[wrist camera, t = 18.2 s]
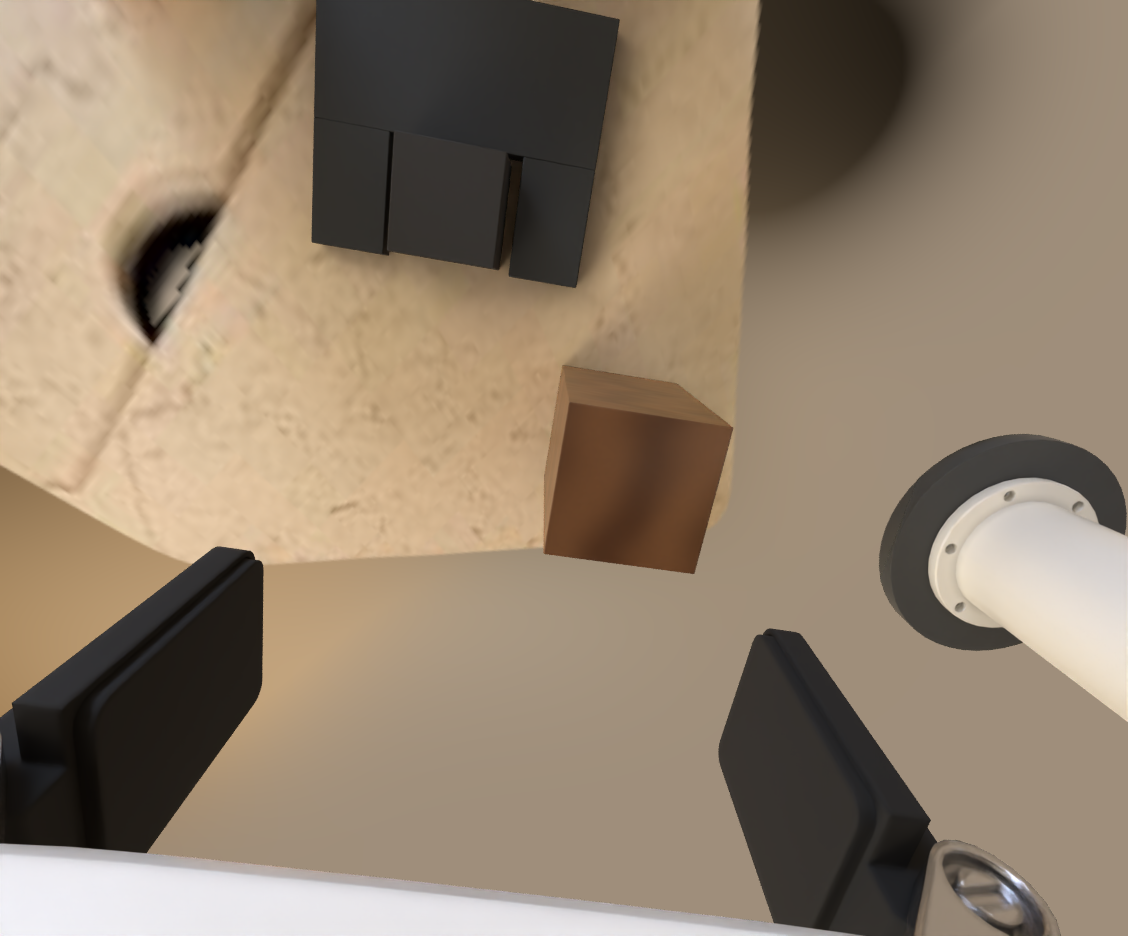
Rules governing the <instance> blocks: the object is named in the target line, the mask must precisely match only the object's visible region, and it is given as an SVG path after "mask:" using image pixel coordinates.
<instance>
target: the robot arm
mask: <svg viewBox="0 0 1128 936" xmlns="http://www.w3.org/2000/svg"><path fill="white" fill-rule="evenodd" d="M928 575H929V581H930V586H931V588H932V590H933V592H934V594H935V597H936V598H937V599H938V600H939V602H940V603H941V604H942V605H943V606H944V607H945V608H946V609H947V610H948V611H950V612H951V613H952V614H953V615H955V616H956V617H958V618H960V619H961V620H963V621H965V622H967V623H970V624H973V625H976V626H982V627H990V628H997V627H1003V628H1005V629H1006V630H1007V631H1009V632H1010V633H1011V634H1013V635H1014V636H1015V637H1017V638H1018V639H1019V640H1021V641H1022V642H1023V643H1024V644H1026V645H1027V646H1028V647H1030V648H1031V649H1033V650H1034V651H1035V652H1037V653H1038V654H1039V655H1040V656H1042V657H1043V658H1044V659H1046V660H1047V661H1048V662H1050V663H1051V664H1052V665H1053V666H1055V667H1056V668H1057V669H1059V670H1060V671H1061V672H1063V673H1064V674H1065V675H1067V676H1068V677H1069V678H1071V679H1072V680H1073V681H1075V682H1076V683H1077V684H1079V685H1080V686H1081V687H1082V688H1084V689H1085V690H1087V691H1088V692H1089V693H1091V694H1092V695H1093V696H1094V697H1096V698H1097V699H1098V700H1100V701H1101V702H1102V703H1103V704H1105V705H1106V706H1108V707H1109V708H1110V709H1111V710H1113V711H1114V712H1115V713H1117V714H1118V715H1119V716H1121V717H1122V718H1123V719H1125V720H1126V721H1127V722H1128V537H1127V536H1125V535H1123V534H1121V533H1118V532H1116V531H1114V530H1111V529H1109V528H1107V527H1105V526H1102V525H1100V524H1099V523H1098V519H1097V516H1096V513H1095V511H1094V509H1093V508H1092V506H1091V505H1090V503H1089V502H1088V500H1086V499H1085V498H1084V497H1083V496H1082V495H1081V494H1080V493H1079V492H1077V491H1075V490H1073V489H1071V488H1070V487H1068V486H1066V485H1063V484H1060V483H1057V482H1055V481H1052V480H1048V479H1041V478H1018V479H1013V480H1009V481H1004V482H1001V483H999V484H996V485H993V486H991V487H988V488H986V489H984V490H983V491H981V492H979V493H977V494H976V495H974V496H972V497H971V498H970V499H968V500H967V501H966V502H965V503H963V504H962V505H961V506H959V507H958V509H957V510H956V511H955V512H954V513H953V514H952V515H951V516H950V517H949V518H948V519H947V521H946V522H945V523H944V525H943V526H942V528H941V529H940V531H939V532H938V534H937V537H936V539H935V541H934V543H933V545H932V549H931V553H930V556H929V564H928ZM262 651H263V564H262V562H261V561H259V560H255V557H254V554H253V553H252V552H251V551H247V550H240V549H233V548H227V547H215V548H213V549H212V550H210V551H209V552H208V553H207V554H205V555H204V556H203V557H201V558H200V559H199V560H197V561H196V562H195V563H193V564H192V565H191V566H190V567H188V568H187V569H186V570H185V571H183V572H182V573H180V574H179V575H178V576H177V577H175V578H174V579H173V580H171V581H170V582H169V583H167V585H165V586H164V587H162V588H161V589H160V590H158V591H157V592H156V593H154V594H153V595H152V596H151V597H150V598H148V599H147V600H145V601H144V602H143V603H141V604H140V605H139V606H138V607H136V608H135V609H134V610H132V611H131V612H130V613H129V614H127V615H126V616H125V617H123V618H122V619H121V620H119V621H118V622H117V623H115V624H114V625H113V626H112V627H110V628H109V629H108V630H107V631H105V632H104V633H103V634H101V635H100V636H98V637H97V638H96V639H95V640H93V641H92V642H91V643H89V644H88V645H87V646H85V647H84V648H83V649H82V650H80V651H79V652H78V653H76V654H75V655H74V656H72V657H71V658H70V659H69V660H67V661H66V662H65V663H63V664H62V665H61V666H59V667H58V668H57V669H56V670H54V671H53V672H52V673H50V674H49V675H48V676H46V677H45V678H44V679H43V680H41V681H40V682H39V683H37V684H36V685H35V686H33V687H32V688H31V689H30V690H28V691H27V692H26V693H25V694H23V695H22V696H20V697H19V698H18V699H16V700H15V701H14V702H13V703H12V706H13V708H12V709H11V710H9V711H8V712H7V713H6V714H4V715H3V716H2V717H0V936H1061V934H1060V931H1059V927H1058V924H1057V920H1056V919H1055V917H1054V915H1053V913H1052V912H1051V910H1050V909H1049V907H1048V905H1047V903H1046V902H1045V901H1044V899H1043V898H1042V897H1041V896H1040V895H1039V894H1038V892H1037V891H1036V890H1035V889H1034V888H1033V887H1032V886H1031V884H1030V883H1028V882H1027V881H1026V880H1025V879H1024V878H1023V877H1022V876H1021V875H1019V874H1018V873H1017V872H1016V871H1015V870H1014V869H1013V868H1011V867H1010V866H1008V865H1007V864H1005V863H1004V862H1003V861H1001V860H1000V859H998V858H997V857H995V856H994V855H992V854H990V853H988V852H986V851H984V850H982V849H980V848H978V847H976V846H974V845H971V844H968V843H965V842H961V841H957V840H943V841H940V842H938V843H937V841H936V840H935V838H934V837H933V835H932V834H931V832H930V831H929V829H928V828H927V827H928V825H929V823H930V821H931V820H930V818H929V817H928V816H927V814H926V813H925V811H924V810H923V808H922V807H921V806H920V804H919V803H918V801H917V800H916V798H915V797H914V796H913V794H912V793H911V791H910V790H909V789H908V787H907V785H906V784H905V783H904V781H903V780H902V778H901V777H900V775H899V774H898V773H897V771H896V770H895V768H894V767H893V765H892V764H891V763H890V761H889V760H888V758H887V757H886V755H885V754H884V753H883V751H882V750H881V748H880V747H879V745H878V744H877V743H876V741H875V740H874V738H873V737H872V735H871V734H870V733H869V731H868V730H867V728H866V727H865V725H864V724H863V722H862V721H861V720H860V718H859V717H858V715H857V714H856V712H855V711H854V710H853V708H852V707H851V705H850V704H849V702H848V701H847V700H846V698H845V697H844V695H843V694H842V693H841V691H840V690H839V688H838V687H837V685H836V684H835V682H834V681H833V680H832V678H831V677H830V675H829V674H828V672H827V671H826V670H825V668H824V667H823V665H822V664H821V662H820V661H819V660H818V658H817V657H816V655H815V654H814V652H813V651H812V649H811V648H810V647H809V645H808V644H807V642H806V641H805V639H804V638H803V637H802V636H801V635H800V634H799V633H796V632H791V631H784V630H776V629H767V630H766V631H765V632H764V633H763V635H757V636H756V637H755V639H754V641H753V643H752V646H751V649H750V652H749V655H748V658H747V662H746V664H745V667H744V671H743V673H742V676H741V680H740V682H739V685H738V688H737V692H736V695H735V698H734V701H733V704H732V707H731V710H730V713H729V716H728V719H727V722H726V725H725V728H724V731H723V734H722V737H721V740H720V743H719V762H720V766H721V769H722V772H723V775H724V778H725V780H726V783H727V786H728V789H729V792H730V795H731V798H732V801H733V804H734V807H735V810H736V813H737V815H738V819H739V821H740V824H741V827H742V830H743V833H744V836H745V839H746V842H747V845H748V848H749V851H750V854H751V857H752V860H753V863H754V865H755V869H756V872H757V874H758V877H759V880H760V883H761V886H762V889H763V892H764V895H765V898H766V901H767V904H768V906H769V910H770V912H771V916H772V918H773V922H774V923H769V922H762V921H754V920H745V919H737V918H728V917H719V916H711V915H703V914H695V913H687V912H677V911H669V910H661V909H653V908H645V907H636V906H628V905H619V904H611V903H602V902H594V901H585V900H576V899H568V898H558V897H550V896H541V895H533V894H524V893H515V892H506V891H498V890H489V889H480V888H471V887H461V886H452V885H444V884H435V883H426V882H417V881H408V880H399V879H390V878H381V877H371V876H362V875H353V874H343V873H334V872H325V871H315V870H306V869H297V868H286V867H278V866H268V865H258V864H249V863H240V862H231V861H221V860H212V859H202V858H192V857H181V856H169V855H158V854H147V852H148V850H149V849H150V847H151V846H152V845H153V843H154V842H155V840H156V839H157V838H158V836H159V835H160V834H161V832H162V831H163V829H164V828H165V827H166V825H167V824H168V822H169V821H170V820H171V818H172V817H173V816H174V814H175V813H176V811H177V810H178V809H179V807H180V806H181V804H182V803H183V801H184V800H185V799H186V798H187V796H188V795H189V793H190V792H191V791H192V789H193V788H194V786H195V785H196V784H197V782H198V781H199V779H200V778H201V777H202V775H203V774H204V773H205V771H206V770H207V768H208V767H209V766H210V764H211V763H212V761H213V760H214V759H215V757H216V756H217V754H218V753H219V752H220V750H221V749H222V747H223V746H224V745H225V743H226V742H227V741H228V739H229V738H230V737H231V735H232V734H233V732H234V731H235V729H236V728H237V727H238V725H239V724H240V723H241V721H242V720H243V719H244V717H245V716H246V714H247V713H248V712H249V710H250V709H251V707H252V706H253V705H254V703H255V701H256V700H257V698H258V695H259V692H260V690H261V686H262V655H263V654H262Z"/></svg>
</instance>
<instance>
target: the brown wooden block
mask: <svg viewBox="0 0 1128 936" xmlns="http://www.w3.org/2000/svg"><path fill="white" fill-rule="evenodd" d="M732 431H733V427H731V426H730V425H729V424H728V423H726V422H725V421H724V420H723V419H721V418H720V417H719V416H717V415H716V414H715V413H714V412H712V411H711V410H710V409H709V408H707V407H706V406H705V405H704V404H702V403H701V402H700V401H698V400H697V399H696V398H695V397H693V396H692V395H691V394H690V393H688V392H687V391H686V390H685V389H683V388H682V387H681V386H679V385H678V384H675V383H669V382H663V381H657V380H651V379H645V378H638V377H632V376H626V375H620V374H614V373H607V372H601V371H595V370H589V369H583V368H576V367H570V366H564V365H563V366H562V370H561V376H560V382H559V389H558V395H557V401H556V407H555V413H554V419H553V425H552V432H551V438H550V444H549V450H548V456H547V462H546V468H545V475H544V549H543V550H544V552H543V553H544V554H549V555H556V556H564V557H572V558H579V559H586V560H594V561H602V562H608V563H616V564H623V565H631V566H638V567H647V568H653V569H661V570H668V571H676V572H683V573H691V574H694V573H695V569H696V565H697V561H698V558H699V554H700V551H701V547H702V543H703V539H704V535H705V532H706V528H707V525H708V521H709V517H710V513H711V510H712V506H713V502H714V498H715V495H716V491H717V487H718V484H719V480H720V476H721V472H722V469H723V465H724V461H725V457H726V454H727V450H728V446H729V442H730V439H731V435H732Z"/></svg>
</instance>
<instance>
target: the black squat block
mask: <svg viewBox="0 0 1128 936" xmlns="http://www.w3.org/2000/svg"><path fill="white" fill-rule="evenodd" d="M511 168H512V167H511V163H510V160H509V157H508V154H507V152H506V151H501V150H496V149H491V148H486V147H480V146H475V145H470V144H465V143H460V142H454V141H449V140H444V139H439V138H433V137H428V136H423V135H418V134H412V133H407V132H402V131H397V130H395V131H394V141H393V158H392V174H391V191H390V208H389V224H388V241H387V250H388V251H392V252H397V253H403V254H408V255H414V256H420V257H425V258H431V259H437V260H443V261H448V262H454V263H460V264H466V265H471V266H477V267H483V268H489V269H494V270H499V267H500V259H501V251H502V242H503V234H504V226H505V218H506V209H507V201H508V193H509V184H510V176H511Z"/></svg>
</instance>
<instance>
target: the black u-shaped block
mask: <svg viewBox="0 0 1128 936" xmlns="http://www.w3.org/2000/svg"><path fill="white" fill-rule="evenodd" d="M619 21H620V20H619V19H615V18H610V17H605V16H601V15H596V14H591V13H587V12H582V11H577V10H573V9H568V8H563V7H559V6H554V5H549V4H545V3H540V2H535V1H531V0H316V49H315V98H314V149H313V198H312V242H313V243H318V244H324V245H330V246H336V247H342V248H347V249H353V250H359V251H365V252H370V253H376V254H382V255H389V251H388V250H387V241H388V224H389V208H390V191H391V174H392V158H393V141H394V131H395V130H397V131H402V132H407V133H412V134H418V135H423V136H428V137H433V138H439V139H444V140H449V141H454V142H460V143H465V144H470V145H475V146H480V147H486V148H491V149H496V150H501V151H506V152H507V154H508V157H509V159H513V160H518V161H523V165H522V173H521V181H520V189H519V197H518V205H517V213H516V221H515V229H514V237H513V244H512V252H511V260H510V268H509V277H515V278H521V279H526V280H532V281H538V282H544V283H549V284H555V285H561V286H567V287H572V288H576V285H577V279H578V272H579V266H580V260H581V254H582V248H583V242H584V236H585V229H586V223H587V217H588V211H589V205H590V199H591V193H592V187H593V180H594V174H595V168H596V162H597V156H598V150H599V144H600V138H601V132H602V125H603V119H604V113H605V107H606V101H607V95H608V89H609V82H610V76H611V70H612V64H613V58H614V52H615V46H616V40H617V33H618V27H619Z"/></svg>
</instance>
